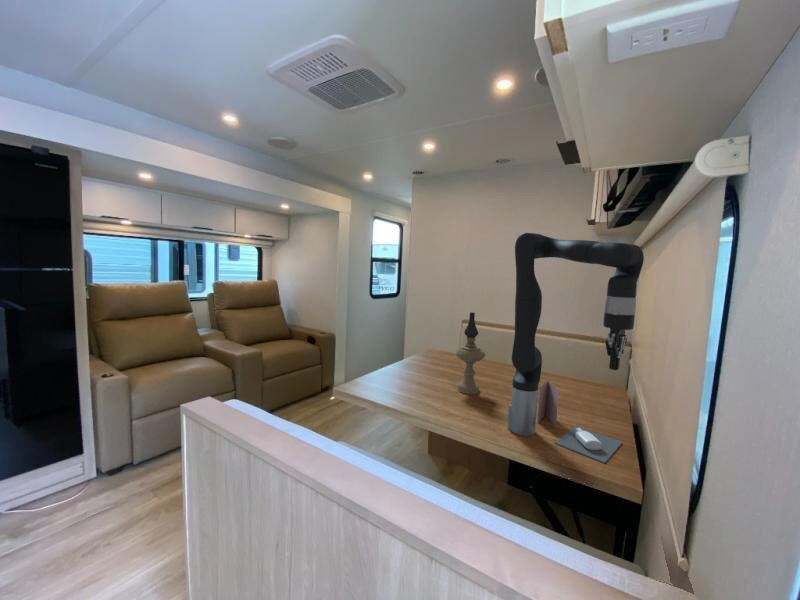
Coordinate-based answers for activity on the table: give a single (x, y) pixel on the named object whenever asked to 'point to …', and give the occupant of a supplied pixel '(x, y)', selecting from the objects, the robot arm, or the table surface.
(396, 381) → the table surface
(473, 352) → the oil lamp
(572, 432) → the mat
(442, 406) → the table surface
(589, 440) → the eye dropper bottle
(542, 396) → the greeting card
